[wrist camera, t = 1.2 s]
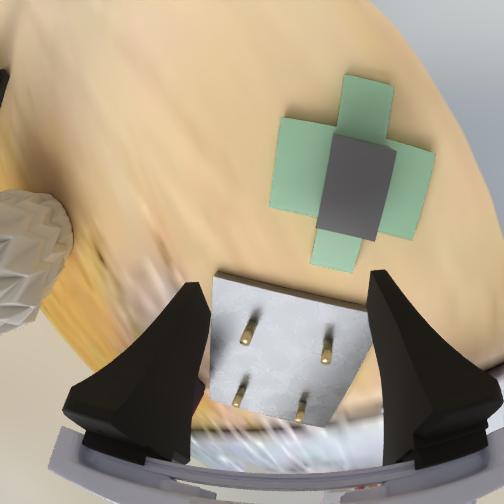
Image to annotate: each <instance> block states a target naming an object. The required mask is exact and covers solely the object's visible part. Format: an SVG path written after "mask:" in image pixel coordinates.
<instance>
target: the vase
mask: <svg viewBox="0 0 504 504" xmlns="http://www.w3.org/2000/svg"><path fill="white" fill-rule="evenodd" d="M72 248H73V232H72V225H71V223H70V220H69V217H68V215H66V210H65V209H64V208H63V206H62V204H61V203H60V202H58V200H57V199H55V198H54V197H53V196H52V195H51V194H47V193H32V192H29V191H26V190H18V189H9V190H5V191H3V192H0V335H3V334H5V333H8V332H10V331H13V330H18V329H20V328H23V327H24V326H26V325H28V324H29V323H31V322H33V321H35V319H36V316H37V314H38V311H39V308H40V306H41V303H42V300H43V299H44V298H45V297H47V296H48V295H49V293H50V291H51V289H52V287H53V286H54V284H55V282H56V280H57V278H58V277H59V275H60V274H61V272H62V270H63V269H64V267H65V266H64V262H65V260H66V259H67V258H68V256H69V254H70V252H71V250H72Z"/></svg>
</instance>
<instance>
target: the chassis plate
mask: <svg viewBox="0 0 504 504" xmlns="http://www.w3.org/2000/svg"><path fill="white" fill-rule="evenodd" d="M372 342H373V340H372V336H371V332H370V328H369V322H368V314H367V307H366V306H364V305H359V304H355V303H350V302H346V301H341V300H336V299H332V298H328V297H323V296H319V295H314V294H310V293H306V292H301V291H297V290H293V289H288V288H284V287H280V286H276V285H271V284H267V283H263V282H259V281H255V280H251V279H247V278H242V277H238V276H234V275H230V274H226V273H222V272H218V271H217V272H216V273H215V275H214V276H213V293H212V316H211V346H210V396H209V399H212V400H215V401H218V402H221V403H224V404H228V405H231V406H234V407H238V408H241V409H244V410H248V411H252V412H255V413H259V414H263V415H267V416H271V417H275V418H279V419H283V420H288V421H292V422H297V423H302V424H307V425H312V426H317V427H323V428H325V426H326V424H327V423H328V421H329V420H330V418H331V417H332V415H333V413H334V412H335V410H336V408H337V407H338V405H339V403H340V402H341V400H342V398H343V397H344V395H345V393H346V391H347V390H348V388H349V386H350V384H351V383H352V381H353V379H354V377H355V375H356V373H357V372H358V370H359V368H360V366H361V364H362V362H363V360H364V358H365V356H366V354H367V352H368V350H369V348H370V346H371V344H372Z"/></svg>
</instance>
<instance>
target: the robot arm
mask: <svg viewBox="0 0 504 504" xmlns="http://www.w3.org/2000/svg"><path fill="white" fill-rule="evenodd" d="M366 307H367V314H368V322H369V328H370V332H371V336H372V340H373V344H374V349H375V353H376V357H377V361H378V366H379V370H380V376H381V385H382V396H383V408H382V412H383V414H384V449H383V466H381V467H375V468H368V469H361V470H352V471H342V472H330V473H312V474H264V473H247V472H234V471H224V470H216V469H208V468H201V467H194V466H189V465H186V464H187V463H188V462H189V461H190V438H191V421H192V411H193V401H194V394H195V386H196V381H197V376H198V372H199V369H200V365H201V361H202V357H203V353H204V350H205V346H206V342H207V338H208V334H209V326H210V318H211V312H210V310H209V307H208V305H207V302H206V300H205V297H204V295H203V292H202V289H201V287H200V284H199V282H188V283H185V284H184V285H183V286H182V288H181V289H180V290H179V291H178V293H177V294H176V295H175V296H174V298H173V299H172V300H171V301H170V302H169V304H168V305H167V306H166V307H165V309H164V310H163V311H162V312H161V313H160V315H159V316H158V317H157V318H156V319H155V321H154V322H153V323H152V324H151V325H150V326H149V327H148V328H147V329H146V331H145V332H144V333H143V334H142V335H141V336H140V337H139V338H138V339H137V340H136V341H135V342H134V343H133V344H132V345H131V346H129V347H128V348H127V349H126V350H125V351H124V352H123V353H121V354H120V355H119V356H118V357H117V358H115V359H114V360H113V361H112V362H110V363H109V364H108V365H106V366H105V367H104V368H102V369H101V370H99V371H98V372H96V373H95V374H93V375H92V376H90V377H89V378H87V379H85V380H84V381H82V382H80V383H78V384H76V385H74V386H72V387H71V389H70V392H69V394H68V397H67V399H66V402H65V404H64V407H63V409H62V411H63V413H64V415H65V416H67V417H68V418H69V419H71V420H72V421H73V422H75V423H76V424H78V425H79V426H81V427H82V428H84V429H85V430H86V432H85V435H83V434H81V433H79V432H76V431H74V430H71V429H69V428H66V427H64V426H62V427H61V429H60V433H59V435H58V438H57V441H56V444H55V446H54V449H53V453H52V455H51V458H50V462H49V465H48V470H50V471H52V472H53V473H55V474H57V475H59V476H61V477H63V478H65V479H66V480H68V481H70V482H72V483H74V484H76V485H78V486H79V487H81V488H84V489H86V490H87V491H89V492H91V493H93V494H95V495H97V496H100V497H102V498H104V499H106V500H109V501H111V502H113V503H115V504H253V503H241V502H231V501H222V500H216V493H215V492H211V491H207V490H204V489H201V488H200V487H197V486H192V485H188V484H184V483H179V482H177V481H176V480H175V479H177V480H182V481H187V482H193V483H198V484H205V485H211V486H219V487H227V488H237V489H249V490H263V491H317V490H334V489H345V488H355V487H363V486H370V485H376V484H378V486H375V487H370V488H365V489H359V490H353V491H347V492H346V493H344V495H342V496H341V497H340V504H476V499H478V498H481V497H483V496H485V495H487V494H489V493H491V492H493V491H495V490H497V489H499V488H501V487H503V486H504V427H503V428H501V429H498V430H496V431H494V432H492V433H490V434H488V435H486V431H485V429H487V428H488V422H487V419H488V418H489V417H490V416H491V415H492V414H494V413H495V412H496V411H497V410H498V409H499V408H500V407H501V406H502V404H503V402H504V400H503V396H502V393H501V389H500V386H499V383H498V381H497V379H495V378H494V377H492V376H491V375H489V374H487V373H486V372H484V371H483V370H481V369H479V368H478V367H477V366H475V365H474V364H473V363H471V362H470V361H468V360H467V359H466V358H465V357H463V356H462V355H461V354H460V353H459V352H457V351H456V350H455V349H454V348H453V347H451V346H450V345H449V344H448V343H447V342H446V341H445V340H444V339H443V338H442V337H441V336H440V335H439V334H438V333H437V332H436V331H435V330H434V329H433V328H432V327H431V326H430V325H429V324H428V323H427V322H426V321H425V319H424V318H423V317H422V316H421V315H420V314H419V313H418V311H417V310H416V309H415V308H414V306H413V305H412V304H411V303H410V301H409V300H408V299H407V298H406V296H405V295H404V294H403V293H402V291H401V290H400V289H399V287H398V286H397V285H396V283H395V282H394V281H393V279H392V278H391V276H390V275H389V274H388V272H387V271H386V270H374V271H371V273H370V281H369V289H368V296H367V303H366Z"/></svg>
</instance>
